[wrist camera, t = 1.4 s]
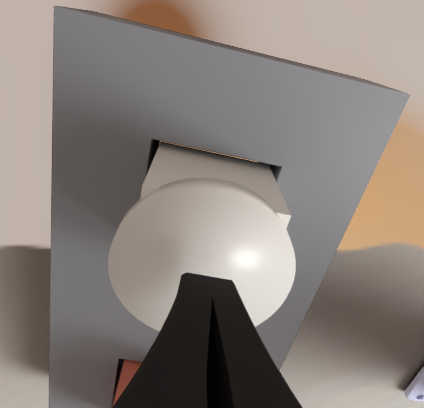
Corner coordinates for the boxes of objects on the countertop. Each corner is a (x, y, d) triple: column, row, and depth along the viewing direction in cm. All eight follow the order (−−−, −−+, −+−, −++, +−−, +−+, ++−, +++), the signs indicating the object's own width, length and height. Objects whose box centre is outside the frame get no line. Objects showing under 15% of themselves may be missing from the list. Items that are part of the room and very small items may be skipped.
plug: (287, 154, 14) (324, 211, 9) (249, 264, 16) (264, 350, 12) (147, 123, 13) (117, 170, 9) (130, 243, 15) (100, 325, 11)
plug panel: (363, 78, 15) (410, 94, 12) (231, 403, 26) (235, 462, 22) (93, 11, 14) (54, 5, 10) (71, 382, 25) (48, 441, 21)
